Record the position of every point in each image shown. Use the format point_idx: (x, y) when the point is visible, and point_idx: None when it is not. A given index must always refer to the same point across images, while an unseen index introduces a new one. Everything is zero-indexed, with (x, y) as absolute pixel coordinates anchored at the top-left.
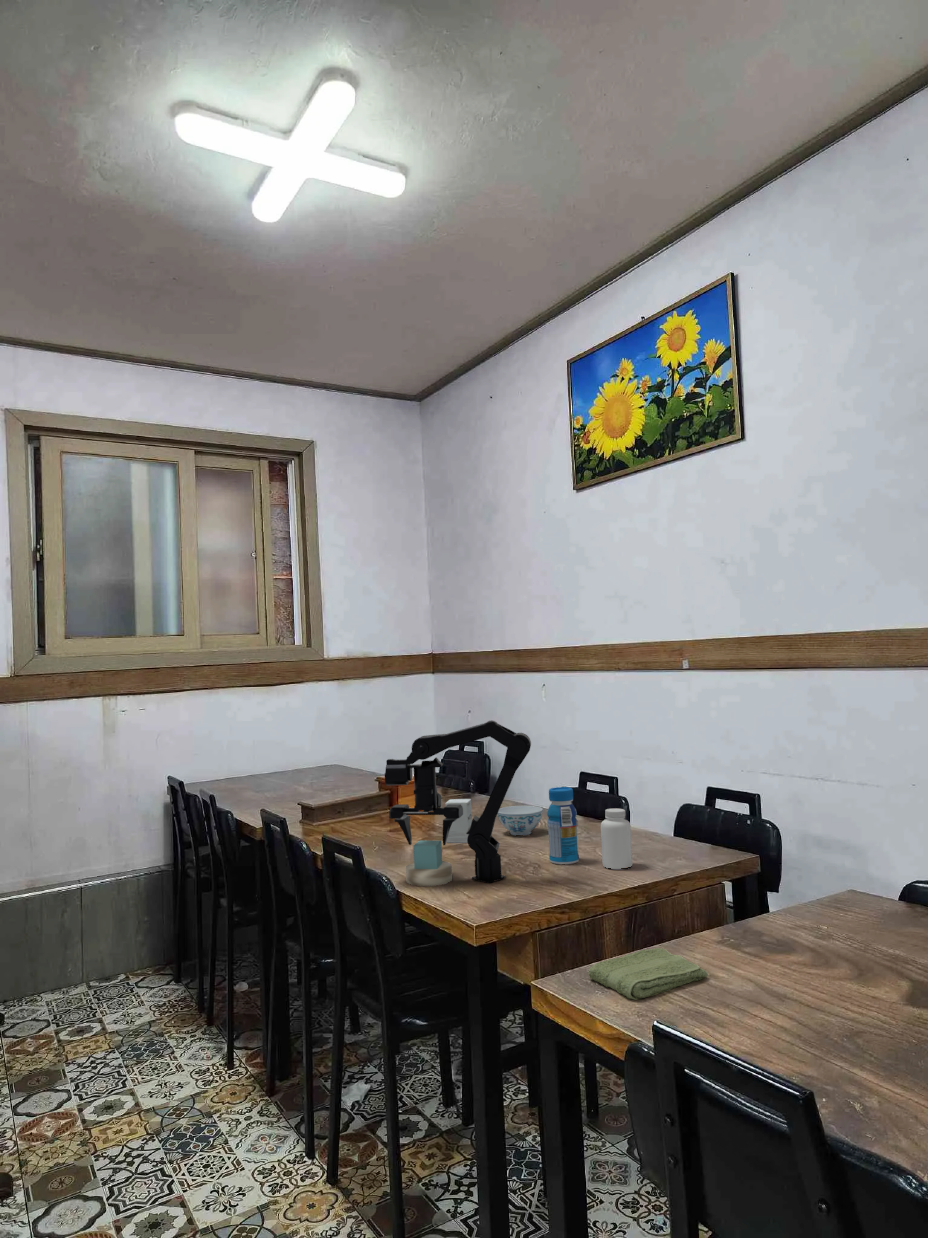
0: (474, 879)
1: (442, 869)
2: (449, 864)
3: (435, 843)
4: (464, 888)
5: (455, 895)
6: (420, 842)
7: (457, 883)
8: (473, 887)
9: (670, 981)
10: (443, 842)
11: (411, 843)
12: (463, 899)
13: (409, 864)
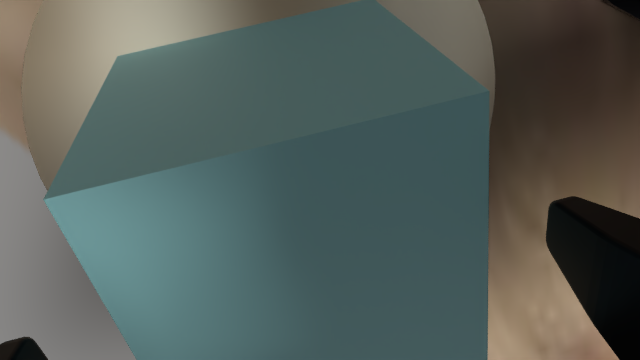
0: (622, 10)
1: None
2: (464, 26)
3: (447, 292)
4: (563, 188)
5: (533, 299)
6: (178, 314)
7: (502, 105)
8: (614, 155)
9: None
10: (579, 284)
11: (27, 346)
12: (578, 330)
13: (32, 137)
